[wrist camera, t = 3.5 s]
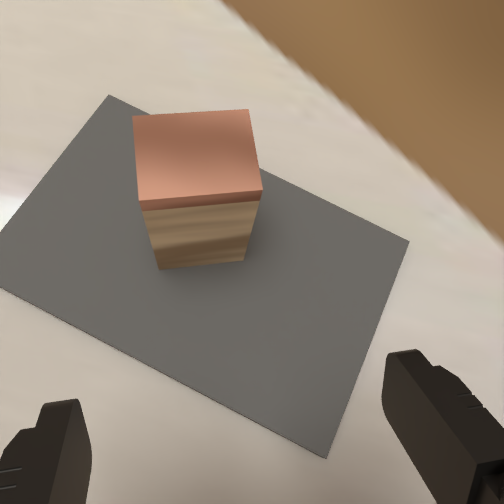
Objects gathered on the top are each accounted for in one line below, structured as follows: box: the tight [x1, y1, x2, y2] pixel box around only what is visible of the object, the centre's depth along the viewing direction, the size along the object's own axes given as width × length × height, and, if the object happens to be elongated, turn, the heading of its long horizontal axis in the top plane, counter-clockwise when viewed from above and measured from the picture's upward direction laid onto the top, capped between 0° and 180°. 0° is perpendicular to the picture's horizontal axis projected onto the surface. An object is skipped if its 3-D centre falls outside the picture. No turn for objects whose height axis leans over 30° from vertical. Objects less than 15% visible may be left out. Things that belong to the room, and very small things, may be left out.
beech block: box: [132, 109, 263, 270], centre depth 23 cm, size 4×5×9 cm
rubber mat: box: [0, 95, 410, 459], centre depth 27 cm, size 22×14×1 cm, turn 64°
